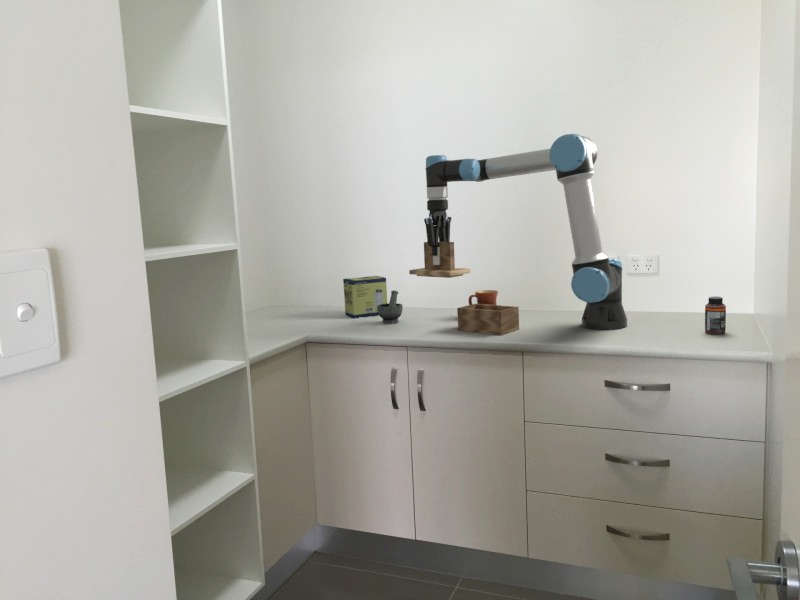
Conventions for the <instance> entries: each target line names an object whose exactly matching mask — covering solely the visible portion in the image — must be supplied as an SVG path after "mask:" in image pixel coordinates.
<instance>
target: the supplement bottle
mask: <svg viewBox="0 0 800 600" xmlns="http://www.w3.org/2000/svg"><path fill="white" fill-rule="evenodd" d="M707 301H708V303H706V305H704V306H705V307H704V332H705V333H706V334H710V335H722V334H725V333H726V329H727V328H726V327H727V326H726V325H727V322H726V321H727V319H726V317H727V314H726V313H727V308H726V307H727V306H726V304H724V301H723V297H721V296H709V297H708V300H707Z"/></svg>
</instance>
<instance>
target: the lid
mask: <svg viewBox="0 0 800 600" xmlns="http://www.w3.org/2000/svg"><path fill="white" fill-rule="evenodd" d="M438 247H440V265H433V255H432V247H430V246H429V245H428V242H427V241H423V256H424V257H423V258H424V260H423V261H424V267H421V268H414V269H409V271H408V272H409V275H416V277H425V278H426V277H427V278H428V277H429V278H447V279H451V278H456V277H462V276H464V275H467V274H471V268H466V267H465V268H464V267H463V268H461V267H459V268H458V267H456V264H455V261H456V259H455V241H450V242H439V241H438Z"/></svg>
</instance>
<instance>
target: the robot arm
mask: <svg viewBox="0 0 800 600" xmlns="http://www.w3.org/2000/svg"><path fill="white" fill-rule="evenodd" d="M597 158H598V148H597V145H596V143H595V142H594V141H593V140H592V139H591V138H590V137H587V136H583V135H580V134H577V133H568V134H562V135H561V136H559V137H558V138H557V139H555V140H554V141H553V143H552V144H551V146H550V148H544V149H540V150H533V151H526V152H521V153H514V154H509V155H503V156H497V157H491V158H485V159H484V158H483V159H478V160H477V159H476V158H463V159H462V158H461V159H451V160H448V159H447V156H446V155H445V154H442V155H441V154H439V155H438V154H437V155H428V156H427V157H426V159H425V176H426V177H425V178H426V181H425V182H426V198H427V199H428V200H427V201H426V209H427V211H429V213H428V217H425V218H424V219H423V221H424V225H425V229H426V238H427V239H426V240H427V241H426V242H428V245H429V246H430V247H432V255H433V265H440V247H438V242H451V240H450V239H451V223H452V216H448V215H447V210H449V200H448V199H447V198H448V197H449V196H448V195H449V193H448V183H449V182H450V183H451V182H476V183H479V182H484V181H489V180H495V179H501V178H509V177H515V176H522V175H529V174H530V175H531V174H537V173H543V172H550V171H555V173H556V179H557V182H559V183H561V184H562V186H563V190H564V191H563V192H564V197H565V203H566V209H567V215H568V220H569V221H568V222H569V226H570V234H571V240H572V244H573V250H574V256H575V257H574V259H573V261H572V262H571V267H572V272H573V275H572V278H571V282H570V285H571V290H572V292H573V294H574V296H575V297H577V299H579V300H580V301H582V302H585V303H586V304H585V308H584V311H583V313H582V316H581V326H582V327H583V328H586V329H587V328H588V329H592V330H593V329H594V330H615V329H616V330H617V329H624V328H626V327H628V317H627V315H626V312H625V309H624V306H623V301H622V300H623V264H622V260H620V259H618V258H613V259H612V258H609V256H607V255H606V254H604V253H603V247H602V242H601V235H600V230H599V224H598V223H599V222H598V218H597V217H598V216H597V211H596V206H595V200H594V199H595V198H594V193H593V187H592V181H591V180H592V179H591V178H592V177H593V176H594V174H595V168H594V165H595V163H596V161H597V160H598V159H597Z"/></svg>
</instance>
